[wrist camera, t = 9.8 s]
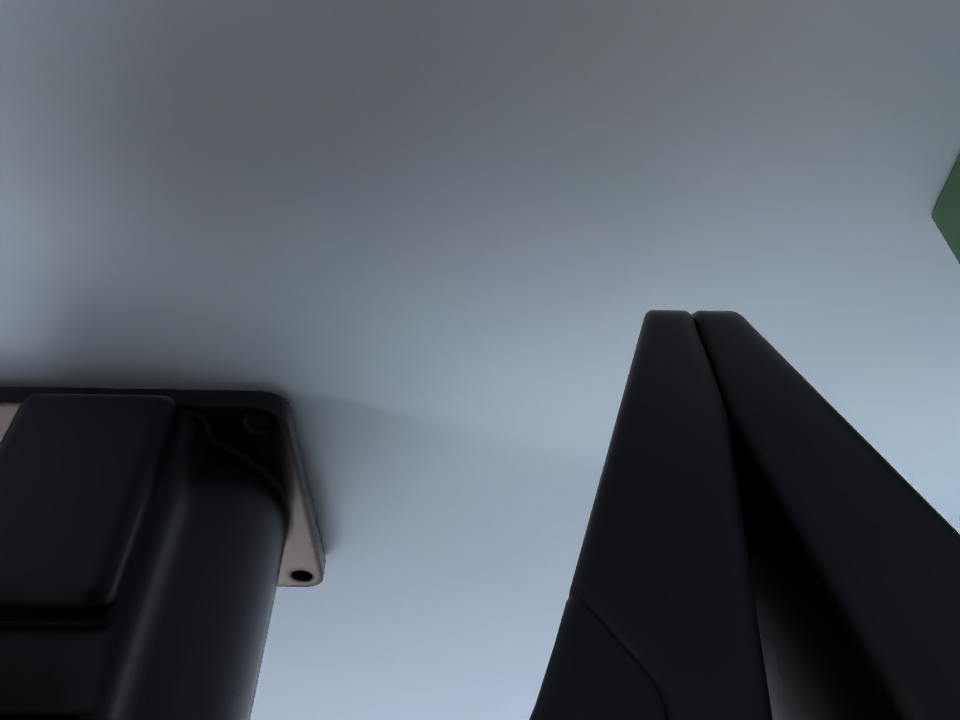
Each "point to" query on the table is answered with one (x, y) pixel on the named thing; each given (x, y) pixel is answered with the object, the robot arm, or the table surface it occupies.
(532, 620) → the table surface
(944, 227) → the green block
